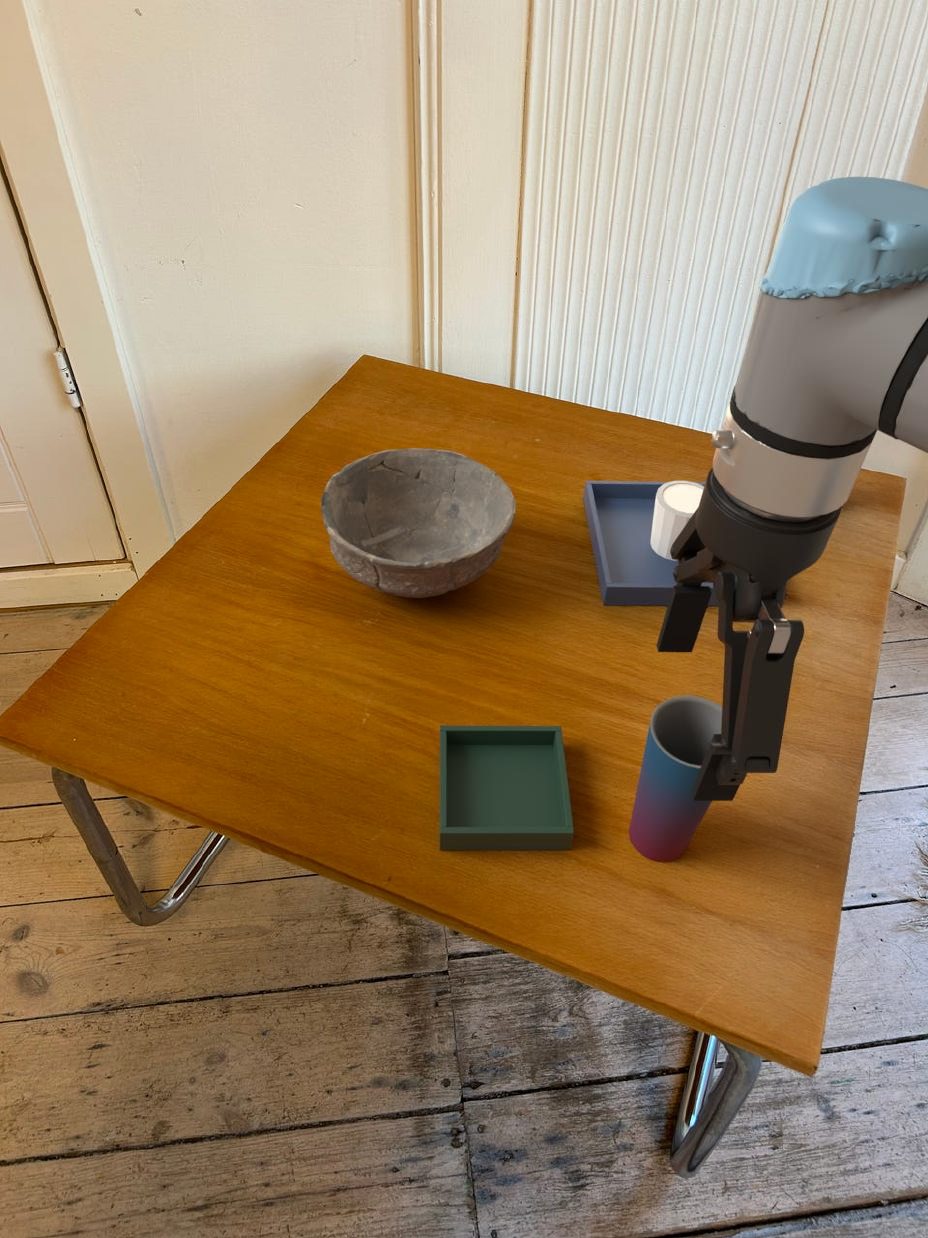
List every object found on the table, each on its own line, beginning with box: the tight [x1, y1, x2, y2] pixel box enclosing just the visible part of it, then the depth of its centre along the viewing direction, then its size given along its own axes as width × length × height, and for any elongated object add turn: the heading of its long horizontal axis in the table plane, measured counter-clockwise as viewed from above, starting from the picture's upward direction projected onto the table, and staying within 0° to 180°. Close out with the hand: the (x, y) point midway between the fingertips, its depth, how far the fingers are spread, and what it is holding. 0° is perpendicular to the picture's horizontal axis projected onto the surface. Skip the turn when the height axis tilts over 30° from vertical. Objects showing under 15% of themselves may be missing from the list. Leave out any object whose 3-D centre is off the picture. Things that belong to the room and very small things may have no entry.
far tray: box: [582, 480, 719, 607], centre depth 101 cm, size 19×19×3 cm
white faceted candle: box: [650, 480, 704, 561], centre depth 99 cm, size 7×7×7 cm
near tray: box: [438, 725, 575, 851], centre depth 76 cm, size 11×11×3 cm
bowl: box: [320, 447, 517, 599], centre depth 95 cm, size 21×21×10 cm
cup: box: [628, 695, 722, 863], centre depth 69 cm, size 7×7×15 cm
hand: (691, 717), depth 64 cm, fingers open, 13 cm apart
